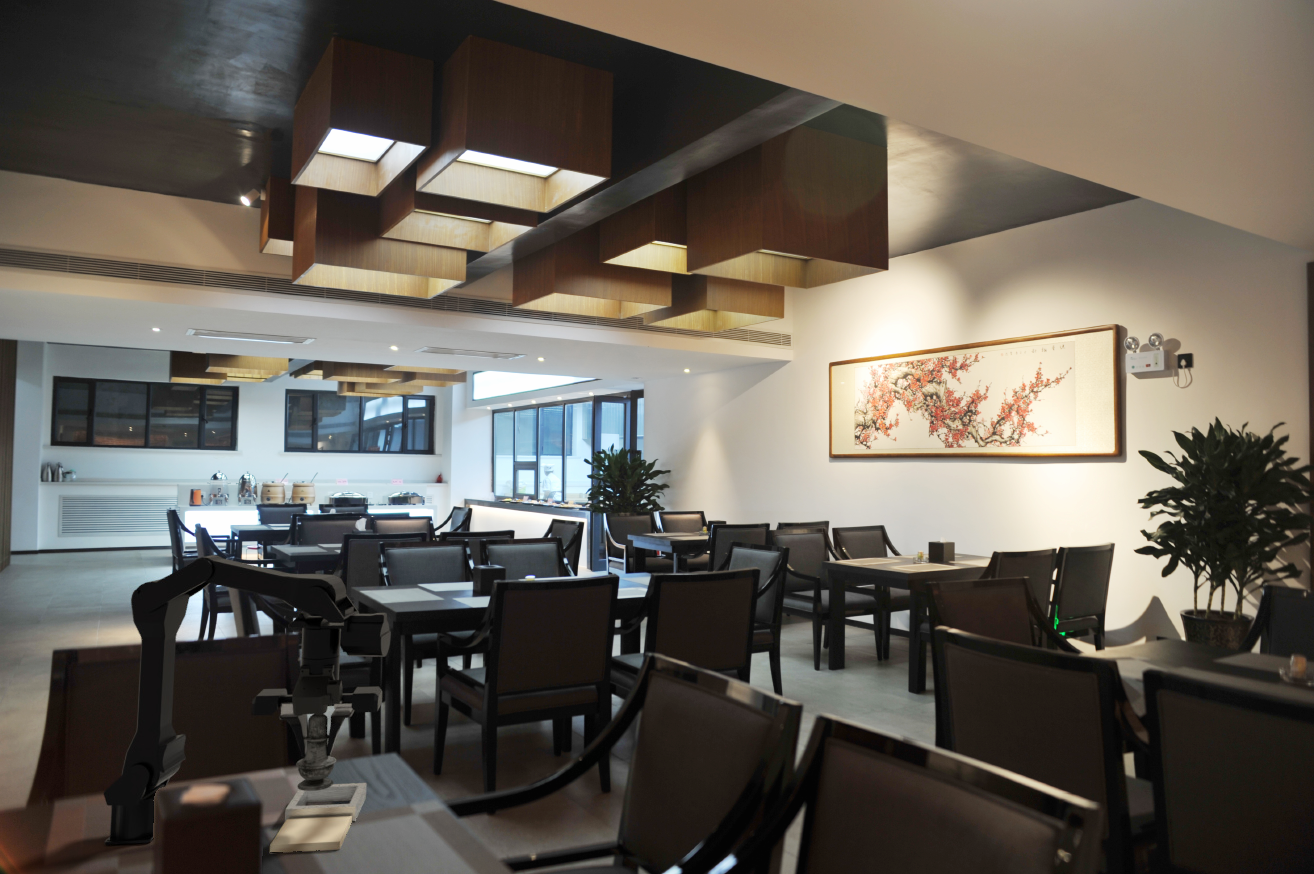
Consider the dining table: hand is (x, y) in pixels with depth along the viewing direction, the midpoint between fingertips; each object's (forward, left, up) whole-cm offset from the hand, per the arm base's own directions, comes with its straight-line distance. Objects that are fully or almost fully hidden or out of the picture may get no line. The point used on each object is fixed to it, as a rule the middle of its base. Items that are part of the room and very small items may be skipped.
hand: (316, 755), depth 135 cm
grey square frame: (0, +10, -12) cm, 16 cm away
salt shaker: (0, 0, -5) cm, 5 cm away
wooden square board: (0, -1, -12) cm, 12 cm away
